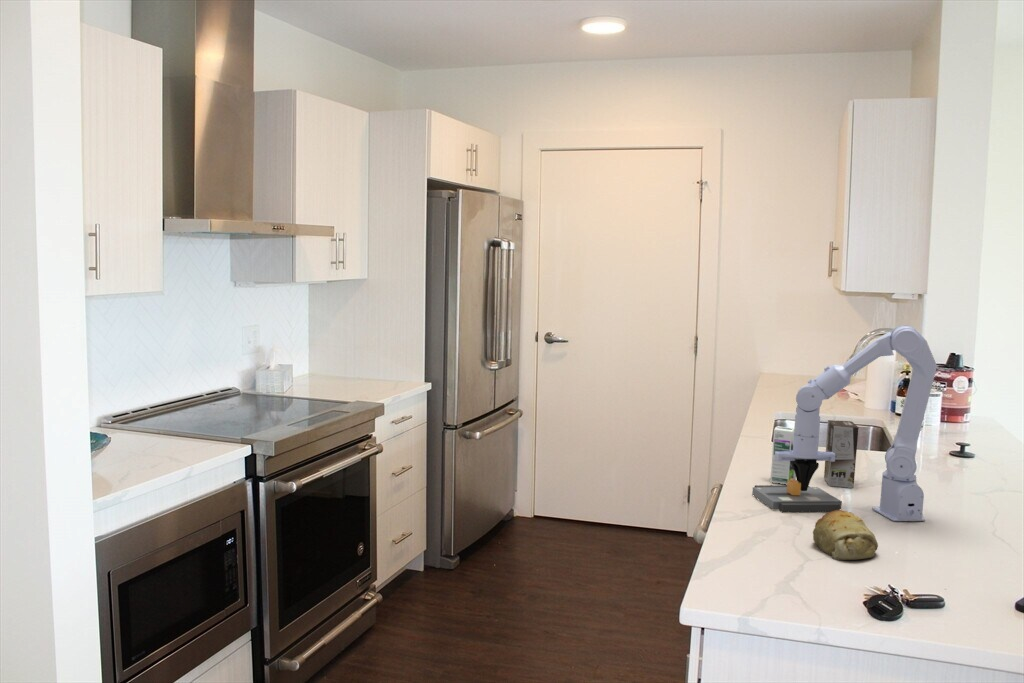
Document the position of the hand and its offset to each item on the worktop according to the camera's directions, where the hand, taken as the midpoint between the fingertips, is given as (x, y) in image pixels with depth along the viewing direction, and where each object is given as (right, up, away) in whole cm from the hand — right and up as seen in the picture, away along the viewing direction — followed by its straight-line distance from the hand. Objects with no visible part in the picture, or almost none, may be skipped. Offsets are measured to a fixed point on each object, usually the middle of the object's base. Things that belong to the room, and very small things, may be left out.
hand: (802, 489), depth 207 cm
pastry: (-3, -7, -33) cm, 34 cm away
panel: (-2, -3, 0) cm, 3 cm away
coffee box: (+16, -2, +19) cm, 25 cm away
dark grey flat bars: (-2, -3, 0) cm, 3 cm away
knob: (-2, -1, 0) cm, 2 cm away
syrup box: (+1, -1, +19) cm, 19 cm away
